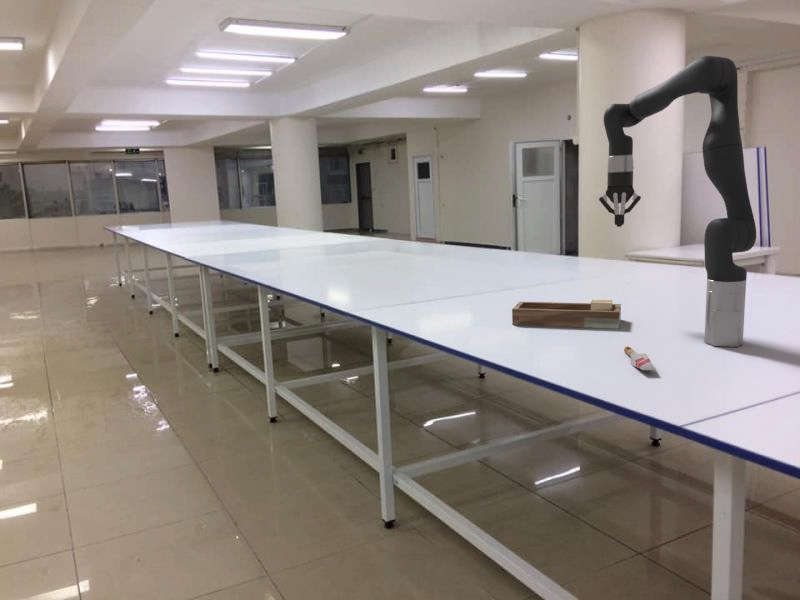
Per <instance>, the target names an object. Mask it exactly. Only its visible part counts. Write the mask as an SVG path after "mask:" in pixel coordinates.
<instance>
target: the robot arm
mask: <svg viewBox="0 0 800 600" xmlns="http://www.w3.org/2000/svg"><path fill="white" fill-rule="evenodd" d="M738 87H739V85H738V70H737V66H736V64H735V62H734V61H733V60H731V59H730V58H729V57H724V56H723V57H722V56H715V55H704V56H701V57H698V58H696V59H695V60H694V61H692V62H691V63H689V64H688V65H686V66H685V67H683V68H681V70H679V71H678V72H677V73H675V74H674V75H672V76H671V77H669V78H667V79H666V80H664V81H662V83H660V84H658V85H656V86H654V87H652V88H649V89H647V90H646V91H643V92H641V93H639V94H637V95H636V96H634V97H633V98H631V100H630V102H629V103H611V104H609V105H608V106H606V107H607V108H605V111H604V113H603V125H604V130H605V133H606V138H607V141H608V159H607V188H606V190H605V194H603V195H602V196H600V197H598V200H599V202H600V203H601V204H602V206H603V207H604V208H605V209H606V210H607V212H608V214H609V213H610V214H613V215H614V225H615V226H616V227H617V228H618V227H619V228H622V227H623V225H624V224H625V215H626V214H629V213H630V212H631V211H632V210H633V209H634V208H635V206H636V205H637V204H638V203H639V201H641V198H642V197H641V195H639V194H637V193H636V192H635V189H634V169H635V167H634V158H633V157H634V156H633V153H634V152H633V151H634V141H633V140H634V139H633V137H632V136H630V135H626V134H625V131H624V128H631V127H634V126H636V125H638V124H640V123H641V122H642V121H644V120H645V119H646V118H648V117H651V116H653V115H655V114H658V113H661V112H662V111H664V110H665V109H667V108H668V107H669V106H670V105H671V104H672V103H673V102H674V101H675V100H677V99H679V98H680V97H683V96H686V95H691V94H695V93H696V94H697V93H698V94H702V95H703V94H704V95H705V94H706V95H708V96H709V97H708V98H709V103H710V109H711V112H710V113H711V115H710V121H709V123H708V126H707V129H706V132H705V135H704V139H703V141H702V157H703V158H702V159H703V165H704V170H705V171H704V172H705V173H706V176H707V177H708V178H709V181H710V182H711V183H712V184H713V186H714V187H715V188H716V190H717V192H718V193H719V194H720V196H721V198H722V199H723V200H722V201H723V202H724V206H725V209H726V217H722V218H715V219H712V220H711V221H710V222H709V223H708V224H707V225H706V227H705V228H706V229H705V232H704V239H703V240H704V242H703V243H704V267H705V271H706V291H705V293H706V295H705V316H704V317H705V318H704V337H703V339H704V340H703V341H704V342H705V343H706V344H708V345H711V346H713V347H732V348H739V346H741V345H743V343H744V331H745V330H744V329H745V310H746V308H745V307H746V295H747V294H746V292H747V279H748V278H747V277H748V276H747V274H748V273H747V272H748V271H747V269H746V268H745V267H743V266H739V265H737V264H736V263H735V262H734V259H733V257H734V256H733V254H736V253H745V252H748V251H751V249H752V248H754V246H755V244H756V240H757V227H756V221H755V218H754V216H755V215H754V213H753V209H752V205H751V201H750V196H749V191H748V183H747V177H746V171H745V157H744V150H743V142H742V137H741V128H740V118H739V102H738V101H739V99H738V96H739V95H738ZM631 198H632V202H631V204H630V205H629V206H628V207H627V208H626V204H627V203H628V202H629V201H630V199H631ZM608 199H609V201H610V202H611V203H612V204H613V208H612V206H611V205H610V204H609V202H608ZM619 204H620V205H619ZM619 207H620V208H619Z"/></svg>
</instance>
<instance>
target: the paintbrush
mask: <svg viewBox="0 0 800 600" xmlns="http://www.w3.org/2000/svg"><path fill="white" fill-rule="evenodd" d="M623 352H624V353H625V354H626V355H627V356H628V357H630V365H631V366H632V367H635V368H637V369H640V370H641V371H656V368H655V366H654V364H653V363H652V361H651V359H650V358H649V356H648V355H647V353H637V352H636V351H635V350H634V349H633V348H631V347H630V346H627V345H626V346H625V347H624V348H623Z"/></svg>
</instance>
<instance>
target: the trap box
mask: <svg viewBox="0 0 800 600" xmlns="http://www.w3.org/2000/svg"><path fill="white" fill-rule="evenodd" d="M621 310H622V304H621V303H612V311H592V310H591V302H588V303H587V302H585V303H584V302H553V301H552V302H551V301H550V302H549V301H548V302H547V301H545V302H544V301H519V302H518V303H516V305H514V307H513V308H512V309H511V313H512V314H511V315H512V316H511V318H512V319H511V320H512V321H511V323H512V325H514V326H517V325H518V326H541V327H542V326H544V327H564V326H565V327H567V326H568V328H570V327H571V328H572V327H573V328H589V327H591V328H590V329H592V328H595V329H617V330H618V329H620V324H621V321H622V320H621V318H622V316H621V315H622V312H621ZM565 327H564V328H565Z"/></svg>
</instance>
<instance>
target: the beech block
mask: <svg viewBox="0 0 800 600" xmlns="http://www.w3.org/2000/svg"><path fill="white" fill-rule="evenodd" d="M590 303H591V310H592V311H612V304H613V299H599V298H598V299H591V301H590Z"/></svg>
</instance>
